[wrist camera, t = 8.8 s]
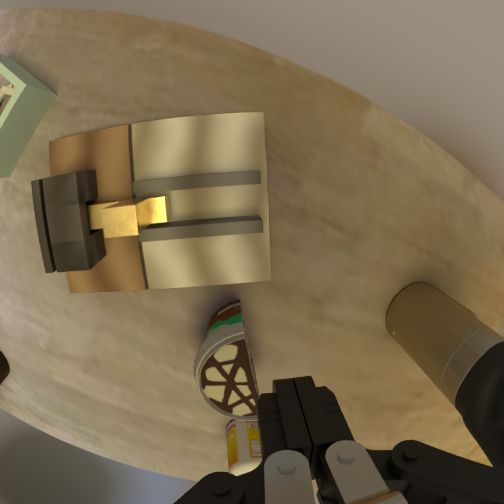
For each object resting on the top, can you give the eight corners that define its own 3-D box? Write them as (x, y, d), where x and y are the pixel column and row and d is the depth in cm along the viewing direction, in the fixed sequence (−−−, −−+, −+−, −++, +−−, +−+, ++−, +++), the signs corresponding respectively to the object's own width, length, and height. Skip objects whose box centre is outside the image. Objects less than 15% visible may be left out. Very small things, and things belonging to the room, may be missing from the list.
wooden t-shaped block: (168, 194, 30) (152, 203, 23) (170, 217, 30) (156, 233, 23) (66, 207, 29) (31, 219, 22) (69, 228, 29) (35, 245, 22)
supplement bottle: (233, 443, 44) (238, 505, 31) (220, 420, 42) (222, 487, 29) (272, 434, 44) (285, 496, 31) (262, 410, 42) (275, 477, 29)
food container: (186, 298, 36) (176, 344, 26) (237, 288, 36) (243, 332, 26) (210, 377, 39) (209, 431, 30) (255, 370, 39) (264, 422, 30)
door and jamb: (261, 115, 31) (271, 102, 24) (268, 274, 36) (279, 299, 29) (57, 142, 29) (25, 140, 22) (77, 286, 34) (52, 311, 27)
